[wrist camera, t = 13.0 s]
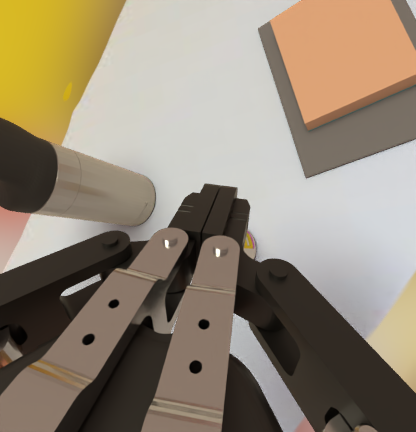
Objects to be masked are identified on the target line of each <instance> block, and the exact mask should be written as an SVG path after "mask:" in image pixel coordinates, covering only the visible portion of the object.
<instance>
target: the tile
mask: <svg viewBox="0 0 416 432" xmlns="http://www.w3.org/2000/svg"><path fill="white" fill-rule="evenodd" d="M270 23H271V26H272V29H273V31H274V34H275V37H276V40H277V43H278V46H279V49H280V52H281V55H282V58H283V61H284V64H285V67H286V70H287V73H288V76H289V79H290V81H291V84H292V87H293V90H294V93H295V96H296V99H297V102H298V105H299V108H300V111H301V114H302V117H303V120H304V123H305V125H306V127H307V130H308V132H309V131H312V130H314V129H316V128H319V127H321V126H323V125H326V124H328V123H330V122H333V121H335V120H337V119H339V118H342V117H344V116H346V115H349V114H351V113H353V112H356V111H358V110H360V109H363V108H365V107H367V106H370V105H372V104H374V103H377V102H379V101H381V100H384V99H386V98H388V97H391V96H393V95H395V94H398V93H400V92H402V91H405V90H407V89H409V88H411V87H414V86H416V50H415V48H414V46H413V44H412V42H411V40H410V38H409V36H408V34H407V32H406V30H405V28H404V26H403V24H402V22H401V20H400V18H399V16H398V14H397V12H396V10H395V8H394V6H393V4H392V2H391V0H301V1H299V2H298V3H296V4H295V5H293V6H292V7H290V8H289V9H287V10H286V11H284V12H282V13H281V14H279V15H278V16H276V17H275V18H273V19H272V20H270Z"/></svg>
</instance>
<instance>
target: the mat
mask: <svg viewBox="0 0 416 432" xmlns="http://www.w3.org/2000/svg"><path fill="white" fill-rule="evenodd" d="M391 2H392V4H393V6H394V8H395V10H396V12H397V14H398V16H399V18H400V20H401V22H402V24H403V26H404V28H405V30H406V32H407V34H408V36H409V38H410V40H411V42H412V44H413V46H414V48H415V50H416V19H415V17H414V15H413V13H412V11H411V9H410V7H409V5H408V3H407V1H406V0H391ZM258 31H259V34H260V37H261V41H262V44H263V47H264V50H265V53H266V56H267V59H268V62H269V65H270V68H271V72H272V75H273V78H274V81H275V84H276V87H277V90H278V93H279V96H280V99H281V103H282V106H283V109H284V112H285V115H286V118H287V121H288V124H289V127H290V130H291V134H292V137H293V140H294V143H295V146H296V149H297V152H298V155H299V158H300V161H301V165H302V168H303V171H304V174H305V177H306V178H308V177H311V176H314V175H317V174H319V173H322V172H325V171H328V170H331V169H333V168H336V167H339V166H342V165H345V164H347V163H350V162H353V161H356V160H358V159H361V158H364V157H367V156H370V155H372V154H375V153H378V152H381V151H384V150H386V149H389V148H392V147H395V146H398V145H400V144H403V143H406V142H409V141H412V140H414V139H416V86H414V87H411V88H409V89H407V90H405V91H402V92H400V93H398V94H395V95H393V96H391V97H388V98H386V99H384V100H381V101H379V102H377V103H374V104H372V105H370V106H367V107H365V108H363V109H360V110H358V111H356V112H353V113H351V114H349V115H346V116H344V117H342V118H339V119H337V120H335V121H333V122H330V123H328V124H326V125H323V126H321V127H319V128H316V129H314V130H312V131H309V132H308V130H307V127H306V125H305V123H304V120H303V117H302V114H301V111H300V108H299V105H298V102H297V99H296V96H295V93H294V90H293V87H292V84H291V81H290V79H289V76H288V73H287V70H286V67H285V64H284V61H283V58H282V55H281V52H280V49H279V46H278V43H277V40H276V37H275V34H274V31H273V29H272V26H271V23H270V21H269V22H267V23H266V24H264V25H263V26H261V27H260V28H258Z"/></svg>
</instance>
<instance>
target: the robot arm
mask: <svg viewBox="0 0 416 432" xmlns="http://www.w3.org/2000/svg"><path fill="white" fill-rule="evenodd" d="M154 204H155V189H154V186H153V184H152V182H151V181H150V180H149V179H148V178H147V177H145V176H143V175H140V174H138V173H135V172H132V171H129V170H127V169H124V168H121V167H118V166H116V165H113V164H110V163H107V162H104V161H102V160H99V159H96V158H93V157H90V156H88V155H85V154H82V153H79V152H76V151H74V150H71V149H68V148H65V147H62V146H59V145H57V144H54V143H51V142H48V141H46V140H43V139H41V138H38V137H36V136H34V135H32V134H31V133H29V132H27V131H26V130H24V129H22V128H21V127H19V126H17V125H15V124H14V123H11V122H9V121H7V120H5V119H2V118H0V206H1V207H3V208H5V209H7V210H10V211H16V212H23V213H31V214H39V215H47V216H56V217H64V218H72V219H80V220H88V221H96V222H104V223H112V224H120V225H128V226H137V225H140V224H142V223H143V222H144V221H146V220H147V218H148V217H149V216H150V214H151V212H152V210H153V208H154ZM249 212H250V205H249V203H248V201H247V200H245V199H238V198H237V187H229V186H221V185H213V184H204V186H203V188H202V190H201V192H200V193H191V194H190V195H188V196H187V197H185V199H184V200H183V202H182V204H181V206H180V207H179V209H178V211H177V212H176V214H175V216H174V217H173V219H172V221H171V223H170V224H169V226H168V228H165V229H161V230H159V231H157V232H156V233H155V234H154V235H153V236H152V237H151V239H150V240H148V241H136V242H130V238H129V236H128V235H127V234H126V233H124V232H122V231H109V232H105V233H102V234H100V235H97V236H95V237H92V238H90V239H87V240H85V241H82V242H80V243H77V244H75V245H72V246H70V247H67V248H65V249H62V250H60V251H57V252H55V253H52V254H50V255H47V256H45V257H42V258H40V259H37V260H35V261H32V262H30V263H27V264H25V265H22V266H19V267H17V268H14V269H12V270H9V271H7V272H4V273H2V274H0V432H283V431H282V429H281V427H280V425H279V423H278V421H277V419H276V417H275V415H274V413H273V411H272V409H271V407H270V405H269V403H268V401H267V400H266V398H265V396H264V394H263V392H262V390H261V388H260V386H259V384H258V382H257V381H256V379H255V378H254V376H253V375H252V373H251V372H250V371H249V370H248V368H247V367H246V366H245V365H244V364H243V363H242V362H241V361H240V360H238V359H237V358H236V357H234V356H233V355H232V354H230V353H229V351H230V341H231V331H232V322H233V313H235V314H237V315H238V316H240V317H242V318H244V319H245V320H247V321H249V326H250V328H251V330H252V332H253V333H254V335H255V337H256V338H257V340H258V341H259V343H260V345H261V346H262V348H263V349H264V351H265V352H266V354H267V356H268V357H269V359H270V360H271V362H272V364H273V365H274V367H275V368H276V370H277V372H278V373H279V375H280V376H281V378H282V380H283V381H284V383H285V384H286V386H287V388H288V389H289V391H290V392H291V394H292V396H293V397H294V399H295V400H296V402H297V404H298V405H299V407H300V408H301V410H302V411H303V413H304V415H305V416H306V418H307V419H308V421H309V423H310V424H311V426H312V427H313V429H314V431H315V432H416V393H415V392H414V391H413V390H412V389H411V388H410V387H409V386H408V385H407V384H406V383H405V382H404V381H403V380H402V379H401V377H400V376H399V375H398V374H397V373H396V372H395V371H394V370H393V369H392V368H391V367H390V366H389V365H388V364H387V363H386V362H385V361H384V360H383V359H382V358H381V357H380V355H379V354H378V353H377V352H376V351H375V350H374V349H373V348H372V347H371V346H370V345H369V344H368V343H367V342H366V341H365V340H364V339H363V338H362V337H361V336H360V335H359V334H358V332H357V331H356V330H355V329H354V328H353V327H352V326H351V325H350V324H349V323H348V322H347V321H346V320H345V319H344V318H343V317H342V316H341V315H340V314H339V313H338V312H337V311H336V310H335V308H334V307H333V306H332V305H331V304H330V303H329V302H328V301H327V300H326V299H325V298H324V297H323V296H322V295H321V294H320V293H319V292H318V291H317V290H316V289H315V288H314V287H313V285H312V284H311V283H310V282H309V281H308V280H307V279H306V278H305V277H304V276H303V275H302V274H301V273H300V272H299V271H298V270H297V269H296V268H295V267H294V266H293V265H292V264H290V263H289V262H287V261H284V260H281V259H267V260H264V261H262V262H261V263H260V262H258V261H256V260H254V259H252V258H250V257H249V256H248V255H247V254H246V253H245V251H244V245H245V240H246V235H247V229H248V221H249ZM97 274H100V277H101V280H100V281H98V282H96V283H94V284H91V285H89V286H87V287H85V288H83V289H81V290H79V291H77V292H75V293H73V294H71V295H68V296H61V294H62V292H63V291H65V290H66V289H68V288H70V287H72V286H74V285H76V284H78V283H80V282H83V281H85V280H87V279H89V278H91V277H93V276H95V275H97ZM193 275H194V276H193ZM192 278H193V280H192ZM191 280H192V283H191ZM190 283H191V285H190ZM177 317H178V318H177ZM176 319H177V321H176ZM175 321H176V325H175V328H174V332H173V334H171V330H172V328H173V325H174V323H175Z"/></svg>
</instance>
